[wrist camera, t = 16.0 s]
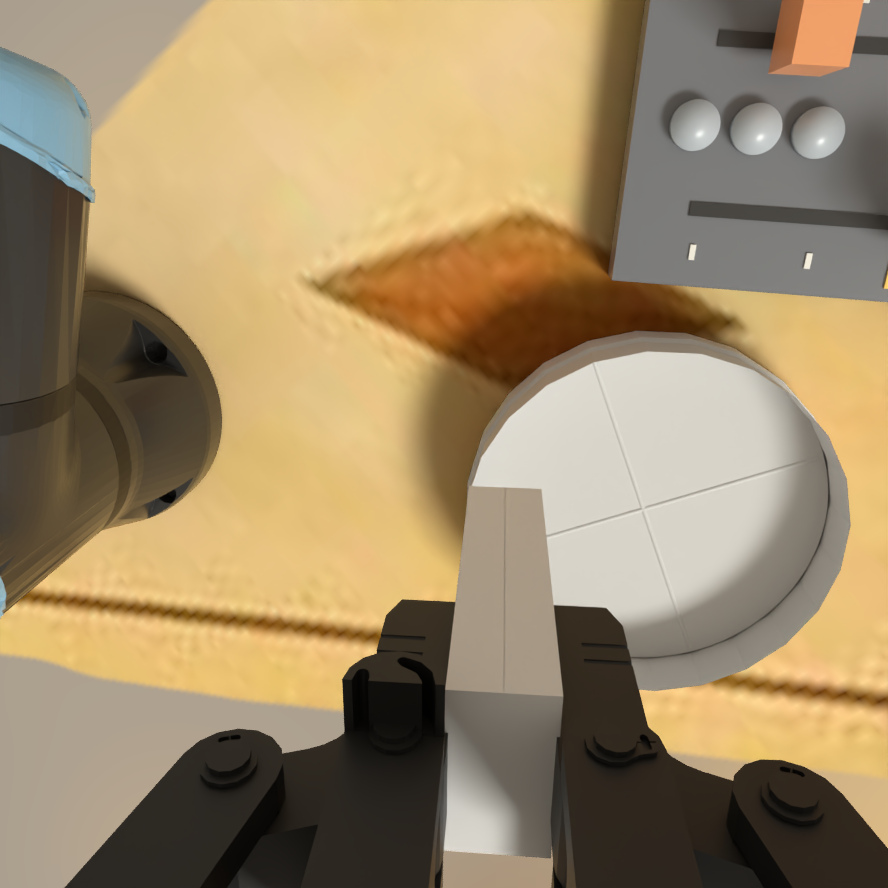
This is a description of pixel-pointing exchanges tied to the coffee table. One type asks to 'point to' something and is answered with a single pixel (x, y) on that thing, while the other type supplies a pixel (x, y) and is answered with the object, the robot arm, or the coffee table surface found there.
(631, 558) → the dish
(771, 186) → the console
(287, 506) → the coffee table surface
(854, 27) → the fader
